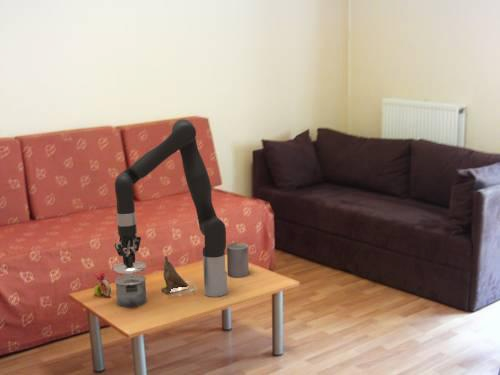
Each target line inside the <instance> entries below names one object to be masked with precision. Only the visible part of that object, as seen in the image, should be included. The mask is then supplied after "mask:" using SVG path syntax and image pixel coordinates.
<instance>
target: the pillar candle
mask: <svg viewBox="0 0 500 375" xmlns="http://www.w3.org/2000/svg"><path fill="white" fill-rule="evenodd" d="M226 257H227V258H226V259H227V261H226V264H227V277H228V276H229V277H230V278H234V279H235V278H237V279H240V278H245V277H247V276H249V272H250V271H249V270H250V268H249V245H248V244H247V243H245V242H232V243H229V244H226Z"/></svg>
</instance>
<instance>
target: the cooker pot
mask: <svg viewBox="0 0 500 375" xmlns="http://www.w3.org/2000/svg"><path fill="white" fill-rule="evenodd" d="M146 280H147V277H146V276H145V275H144V274H140V273H139V274H138V273H131V274H122V275H120V276H117V277H116V278H115V279H114V282H115V290H116V292H115V293H116V301H117V302H116V304H117V305H118V306H119V307H122V308H137V307H140V306H143V305H145V304H147V301H148V300H147V298H148V297H147V288H146V287H147V284H146V283H147V282H146Z"/></svg>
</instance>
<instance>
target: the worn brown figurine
mask: <svg viewBox="0 0 500 375" xmlns="http://www.w3.org/2000/svg"><path fill="white" fill-rule="evenodd" d="M163 258H164V261H165V262H164V263H163V279H164V281H165V287H162V288H161V293H163V294H165V295H170V294H171V293H170V291H171V289H173V288H178V287H187V286H188V285H189V284H188V283H187V282H186V281H185V280H184V278H182V277H181V276H180V275H179V273H178V272H177V270H176V268H175V267H174V266H173V264H172V263H171V262H170V261H169V259H168V257H167V256H166V255H165V256H164V257H163ZM169 293H170V294H169Z"/></svg>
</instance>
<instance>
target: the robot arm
mask: <svg viewBox="0 0 500 375" xmlns="http://www.w3.org/2000/svg"><path fill="white" fill-rule="evenodd" d="M196 136H197V130H196V127H195V126H194V124H193V123H192V122H191V121H190V120H188V119H185V118H184V119H178V120H177V121H175V123H174V124H173V125H172V129H171V133H170V134H169V135H168V136H167V137H166V139H164V140H163V141H162V142H161V143H159V144H158V145H157V146H155V147H154V148H152V149H150V150H149V151H147V152H145V153H144V154H143V155H142V156H141V157H140V158H139V159H137V160H136V161H134V163H133V164H132V165H130V166H129V167H127V168H126V169H125V170H123V171H122V172H120V174H118V175H117V176H116V178H115V181H114V189H115V197H116V213H117V214H116V224H117V235H118V236H119V240H118V241H119V242H117V243H114V248H115V249H116V250H115V251H116V253H117V255H118V256H119V257H122V262H123V263H124V265H129V257H128V254H131V255H133V263H135V261H136V253H137V252H138V251H139V250H140V244H141V240H142V237H141V236H137V234H138V232H137V217H136V216H137V215H136V210H135V200H134V185H135V184H136V183H138V182H139V181H140V180H141V179H144V178H146V177H147V176H149V174H151V173H152V172H153V171H154V170H155V169H156V168H157V167H158V166H160V165H161V164H162V163H163V162H164V161H166V160H167V159H168V158H170V157H171V156H172V155H174V154H176V153H177V152H178V151H179V153H180V157H181V161H182V168H183V173H184V177H185V180H186V183H187V187H188V191H189V193H190V196H191V199H192V201H193V205H194V207H195V210H196V216H197V220H198V227H199V230H200V233H201V234H202V235H203V236H204V247H203V248H202V260H203V261H202V266H203V289H204V296H207V297H211V298H212V297H213V298H216V297H217V298H218V297H221V296H225V295H228V278H227V277H228V272H226V271H227V270H226V249H227V231H226V225H225V222H224V221H222V220H221V219H220V218H219V217H218V216H217V213H216V211H215V209H214V206H213V200H212V184H211V180H210V176H209V172H208V170H207V168H206V164H205V163H204V160H203V158H202V155H201V154H200V151H199V149H198V144H197V138H196Z"/></svg>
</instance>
